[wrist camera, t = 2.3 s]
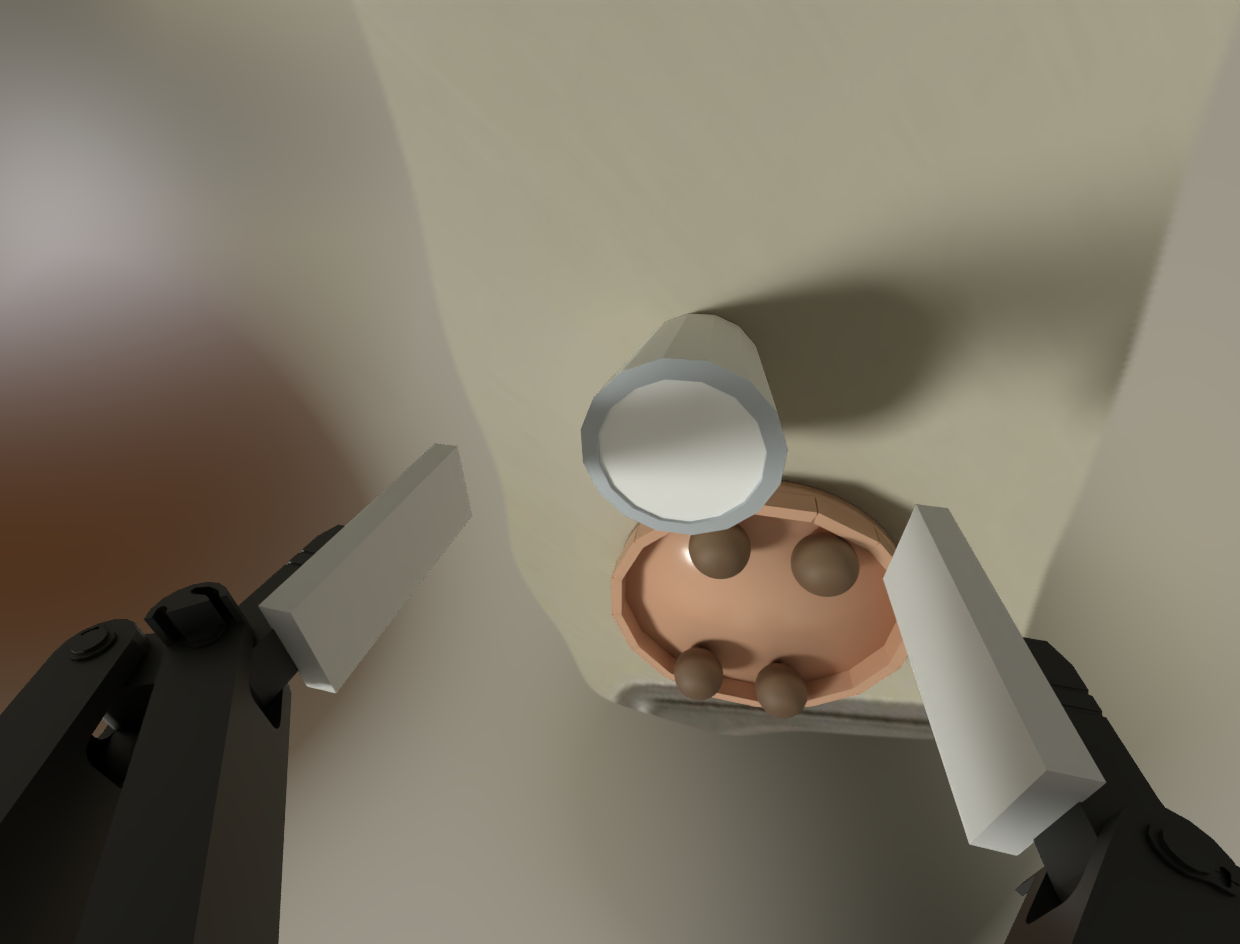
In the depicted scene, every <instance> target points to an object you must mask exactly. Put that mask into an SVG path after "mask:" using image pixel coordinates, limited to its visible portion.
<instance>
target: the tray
mask: <svg viewBox="0 0 1240 944" xmlns="http://www.w3.org/2000/svg"><path fill="white" fill-rule="evenodd" d="M738 524H739V525H740V526H741V527H742V528H743V529H744V530H745V532H746V534H747V535H748V538H749V540H750V545H751V553H750V558H749V561H748V563H747V565H746V566H745V568H744V569H743V570H742V571H741V572H740V573H738V574H737V575H735V576H734V577H731V578H728V579H714V578H710V577H708V576H706V575H704V574H702V573H701V572H700V571H699V570H698V569H697V568H696V567H695V566H694V564H693V563H692V561H691V558H690V555H689V549H688V547H689V540H690V536H691V535H688V534H680V533H673V532H665V531H658V530H655V529H652V528H650V527H648V526H646V525H644V524H641V523H639V522H638V524H637V525H636V526H635V528H634V529H633V530H632V532H631V533H630V535H629V537H628V539H627V541H626V543H625V545H624V548H623V551H622V553H621V555H620V557H619V558H618V560H617V561H616V565H615V568H614V571H613V574H612V577H611V591H612V616H613V617H614V619H615V621H616V623H617V625H618V626H619V628H620V630H621V632H622V633H623V635H624V637H625V639H626V641H627V642H628V644H629V646H630V648H631V649H632V650H633V651H635V652H636V653H637V654H638V655H639V656H641V657H642V658H643V659H644V660H645V661H647V662H648V663H649V664H650V665H651V666H652V667H654V668H655V669H656V670H657V671H658V672H660V673H661V674H662V675H663V676H665V677H667V678H669V679H671V680H673V681H675V678H674V667H675V663H676V661H677V659H678V657H679V656H680V655H681V654H682V653H683V652H684V651H686V650H688V649H690V648H695V647H700V648H704V649H707V650H709V651H710V652H712V653H713V654H714V655H715V656H716V657H717V658H718V660H719V661H720V663H721V666H722V669H723V682H722V685H721V687H720V689H719V691H718V692H717V693H716V694H715V695H714V696H712V697H713V698H718V699H722V700H727V701H732V702H737V703H741V704H746V705H751V706H756V707H758V706H759V707H762V706H761V705H760V703H759V702H758V700H757V697H756V694H755V680H756V677H757V675H758V673H759V672H760V671H761V670H762V669H763V668H764V667H765V666H767V665H769V664H772V663H783V664H786V665H789V666H791V667H793V668H794V669H795V670H797V671H798V672H799V673H800V675H801V676H802V677H803V679H804V681H805V683H806V686H807V692H808V697H807V702H806V705H805V707H810V706H815V705H819V704H823V703H827V702H831V701H834V700H838V699H842V698H846V697H850V696H854V695H858V694H860V693H862V692H864V691H866V690H867V689H869V688H870V687H872V686H873V685H875V684H876V683H878V682H879V681H881V680H883V679H884V678H886V677H887V676H889V675H890V674H892V673H893V672H895V671H896V670H898V669H900V667H901V666H902V664H903V663H904V661H905V659H906V657H907V656H908V654H907V651H906V648H905V645H904V642H903V639H902V636H901V633H900V630H899V626H898V623H897V620H896V617H895V614H894V611H893V608H892V605H891V602H890V599H889V596H888V593H887V590H886V587H885V583H884V580H883V578H884V575H885V573H886V571H887V568H888V566H889V564H890V562H891V559H892V557H893V555H894V553H895V550H896V548H897V546H896V545H895V544H894V542H893V541H892V539H891V538H890V536H889V535H888V534H887V533H886V532H885V531H884V530H883V529H882V527H881V526H880V525H879V524H878V523H877V522H876V521H875V520H873V519H872V518H871V517H869V516H868V515H867V514H865V513H864V512H863V511H861V510H860V509H859V508H857V507H855V506H853V505H852V504H850V503H848V502H846V501H845V500H843V499H841V498H839V497H836V496H834V495H831V494H829V493H827V492H824V491H822V490H818V489H815V488H812V487H808V486H805V485H801V484H796V483H791V482H785V481H781V484H780V486H779V487H778V488H777V489H776V491H775V492H774V493H773V494H772V496H771V497H770V498H769V499H768V501H767V502H766V503H765V505H764V506H763V507H762V508H761V510H760V511H759V512H757V513H756V514H754V515H752V516H750V517H748V518H747V519H745V520H743V521H741V522H739V523H738ZM819 532H826V533H832V534H835V535H837V536H840V537H842V538H843V539H845V540H846V541H847V542H848V543H849V544H850V545H851V546H852V547H853V548H854V550H855V552H856V554H857V556H858V559H859V565H860V569H859V575H858V578H857V580H856V582H855V584H854V585H853V586H852V587H851V588H850V589H849V590H848V591H846V592H845V593H843V594H841V595H838V596H833V597H822V596H817V595H814V594H812V593H810V592H808V591H807V590H805V589H804V588H803V587H801V586H800V584H799V583H798V582H797V581H796V579H795V577H794V575H793V573H792V570H791V555H792V552H793V549H794V547H795V546H796V545H797V543H798V542H799V541H800V540H801V539H803V538H804V537H806V536H808V535H810V534H813V533H819ZM675 682H676V681H675Z"/></svg>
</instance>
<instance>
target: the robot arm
mask: <svg viewBox="0 0 1240 944" xmlns="http://www.w3.org/2000/svg"><path fill="white" fill-rule="evenodd" d="M471 516H472V512H471V508H470V503H469V498H468V494H467V489H466V484H465V479H464V475H463V470H462V465H461V461H460V456H459V452H458V446H452V445H444V444H436V443H435V444H434V445H433V446H432V447H431V448H430V449H428V450H427V451H426V452H425V453H424V454H423V455H422V456H421V457H420V458H419V459H418V460H417V461H416V462H415V463H413V464H412V465H411V466H410V467H409V468H408V469H407V470H406V471H405V472H404V473H402V474H401V475H400V476H399V477H398V478H397V479H396V480H395V481H394V482H393V483H391V484H390V485H389V486H388V487H387V488H386V489H385V490H384V491H383V492H382V493H381V494H379V495H378V496H377V497H376V498H375V499H374V500H373V501H372V502H371V503H370V504H369V505H367V506H366V507H365V508H364V509H363V510H362V511H361V512H360V513H359V514H358V515H357V516H356V517H354V518H353V519H352V520H351V521H350V522H349V523H348V524H347V525H346V526H342V525H337V526H335V527H333V528H331V529H330V530H328V531H326V532H324V533H322V534H321V535H318V536H317V537H316V538H315V539H314V540H312V541H311V542H310V543H309V544H308V545H307V546H306V547H305V548H303V549H302V551H301V553H298V554H297V555H295V556H294V557H293V558H292V559H291V560H290V561H289V562H288V565H284V566H283V567H282V568H281V569H280V570H278V571H277V572H276V573H275V574H274V575H273V576H272V577H270V578H269V579H268V580H267V581H266V582H265V583H264V584H263V585H261V586H260V587H259V588H258V589H257V590H256V591H255V592H254V593H252V594H251V595H250V596H249V597H248V598H247V599H246V600H244V601H243V602H242V603H241V604H240V605H239V606H238V605H237V604H236V602H235V601H234V599H233V598H232V596H231V595H230V593H229V592H228V590H227V588H226V587H224V586H223V585H221V584H220V583H213V582H205V583H199V584H193V585H191V586H188V587H185V588H183V589H180V590H177V591H176V592H174V593H172V594H170V595H169V596H167V597H165V598H164V599H162V600H161V601H160V602H159V603H157V604H156V605H155V606H154V607H153V608H151V610H150V611H149V612H148V614H147V616H146V617H145V618H144V620H145V621H146V623H147V624H148V625H149V626H150V627H151V629H152V630H153V631H154V632H155V633H153V634H144V633H143V632H142V630H141V629H140V628H139V627H138V626H137V625H136V623H135V622H132V621H130V620H128V619H114V620H110V621H107V622H103V623H99V624H97V625H94V626H92V627H90V628H87V629H85V630H83V631H81V632H79V633H78V634H76V635H75V636H73V637H72V638H70V639H68V640H67V641H66V642H64V643H63V644H62V645H61V646H60V647H59V648H58V649H57V650H56V651H55V652H54V653H53V654H52V655H51V656H50V657H49V659H48V660H47V661H46V662H45V663H44V664H43V666H42V667H41V668H40V669H39V670H38V672H37V673H36V674H35V675H34V676H33V677H32V678H31V680H30V681H29V682H28V683H27V684H26V686H25V687H24V688H23V689H22V690H21V691H20V693H19V694H18V695H17V696H16V697H15V698H14V700H13V701H12V702H11V703H10V704H9V705H8V707H7V708H6V709H5V710H4V711H3V712H2V714H1V715H0V944H278V939H279V920H280V900H281V881H282V862H283V844H284V843H283V842H284V823H285V805H286V785H287V767H288V747H289V729H290V709H291V690H290V686H289V684H288V682H289V680H290V679H291V678H292V677H293V676H294V675H295V674H296V673H297V671H298V672H299V674H300V675H301V677H302V678H303V680H304V682H305V683H306V685H307V686H309V687H312V688H317V689H321V690H325V691H329V692H334V693H337V691H338V690H339V689H340V687H341V686H342V685H343V683H344V682H345V681H346V679H347V678H348V677H349V676H350V674H351V673H352V671H353V670H354V669H355V668H356V666H357V665H358V664H359V663H360V661H361V660H362V659H363V657H364V656H365V655H366V653H367V652H368V651H369V650H370V648H371V647H372V646H373V644H374V643H375V642H376V640H377V639H378V638H379V636H380V635H381V634H382V632H383V631H384V630H385V629H386V627H387V626H388V625H389V623H390V622H391V621H392V619H393V618H394V617H395V615H396V614H397V613H398V612H399V610H400V609H401V608H402V606H403V605H404V604H405V602H406V601H407V600H408V599H409V597H410V596H411V595H412V593H413V592H414V591H415V589H416V588H417V587H418V586H419V584H420V583H421V582H422V580H423V579H424V578H425V576H426V575H427V573H428V572H429V571H430V570H431V568H432V567H433V566H434V565H435V563H436V562H437V561H438V559H439V558H440V557H441V556H442V554H443V553H444V552H445V550H446V549H447V548H448V546H449V545H450V544H451V542H452V541H453V540H454V539H455V537H456V536H457V535H458V533H459V532H460V531H461V529H462V528H463V527H464V526H465V524H466V523H467V522H468V520H469V519H470V518H471ZM883 580H884V583H885V587H886V590H887V593H888V596H889V599H890V602H891V605H892V608H893V611H894V614H895V617H896V620H897V623H898V626H899V630H900V633H901V636H902V639H903V642H904V645H905V648H906V651H907V654H908V657H909V660H910V663H911V666H912V669H913V673H914V676H915V679H916V682H917V685H918V688H919V691H920V694H921V697H922V700H923V703H924V706H925V709H926V712H927V715H928V719H929V722H930V725H931V728H932V731H933V734H934V737H935V740H936V743H937V746H938V749H939V752H940V755H941V758H942V762H943V765H944V768H945V771H946V774H947V777H948V780H949V783H950V786H951V789H952V792H953V795H954V798H955V801H956V804H957V808H958V811H959V813H960V817H961V820H962V823H963V826H964V829H965V832H966V835H967V838H968V841H969V844H970V845H975V846H979V847H983V848H987V849H991V850H995V851H1000V852H1004V853H1008V854H1013V855H1019V854H1020V853H1021V852H1022V851H1024V850H1025V849H1026V848H1027V847H1028V846H1030V845H1031V844H1032V843H1033V842H1035V845H1036V847H1037V850H1038V852H1039V854H1040V857H1041V859H1042V861H1043V864H1044V867H1043V868H1042V869H1040V870H1039V871H1038V872H1036V873H1035V874H1034V875H1032V876H1031V877H1030V878H1028V879H1027V880H1026V881H1024V882H1023V883H1022V884H1021V885H1020V886H1019V887H1018V888H1017V889H1016V891H1017V892H1018V893H1019V894H1021V895H1022V896H1024V895H1025V894H1026V893H1027V895H1026V898H1025V900H1024V902H1023V904H1022V906H1021V908H1020V910H1019V913H1018V915H1017V917H1016V919H1015V922H1014V923H1013V926H1012V928H1011V930H1010V932H1009V934H1008V936H1007V939H1006V941H1005V943H1004V944H1240V867H1238V866H1236V865H1235V863H1234V862H1233V860H1232V859H1231V858H1229V856H1228V855H1227V854H1226V853H1225V852H1224V851H1223V850H1222V848H1221V847H1220V846H1219V845H1218V844H1217V843H1216V842H1215V841H1214V840H1213V839H1212V838H1211V837H1209V836H1208V835H1207V834H1206V833H1204V832H1203V831H1202V830H1201V829H1199V828H1198V827H1197V826H1195V825H1194V824H1193V823H1192V822H1190V821H1189V820H1187V819H1185V818H1183V817H1182V816H1179V815H1178V814H1176V813H1174V812H1172V811H1171V810H1169V809H1167V808H1165V807H1164V805H1163V804H1162V803H1161V802H1160V800H1159V799H1158V797H1157V796H1156V794H1155V793H1154V791H1153V790H1152V788H1151V786H1150V785H1149V783H1148V782H1147V780H1146V779H1145V777H1144V776H1143V774H1142V773H1141V771H1140V770H1139V768H1138V766H1137V765H1136V763H1135V762H1134V760H1133V758H1132V757H1131V755H1130V754H1129V752H1128V751H1127V749H1126V748H1125V746H1124V744H1123V743H1122V741H1121V740H1120V738H1119V737H1118V735H1117V734H1116V732H1115V731H1114V729H1113V727H1112V726H1111V724H1110V723H1109V721H1108V720H1107V718H1106V717H1103V716H1102V710H1101V709H1100V708H1099V706H1098V704H1097V703H1096V701H1095V700H1094V698H1093V696H1091V695H1089V694H1088V689H1087V687H1086V685H1085V684H1084V682H1083V681H1082V679H1081V678H1080V676H1079V675H1078V673H1077V672H1076V670H1075V668H1074V667H1073V666H1072V664H1070V662H1068V661H1067V660H1066V659H1065V658H1064V657H1063V656H1062V655H1061V654H1060V653H1059V652H1058V651H1057V650H1055V648H1054V647H1052V646H1051V645H1050V644H1049V643H1048V642H1047V641H1041V640H1036V639H1030V638H1024V637H1022V636H1021V634H1020V632H1019V630H1018V629H1017V627H1016V625H1015V623H1014V622H1013V620H1012V618H1011V617H1010V615H1009V613H1008V611H1007V610H1006V608H1005V606H1004V604H1003V603H1002V601H1001V599H1000V597H999V596H998V594H997V592H996V591H995V589H994V587H993V585H992V584H991V582H990V580H989V578H988V577H987V575H986V573H985V571H984V570H983V568H982V566H981V565H980V563H979V561H978V559H977V558H976V556H975V554H974V552H973V551H972V549H971V547H970V545H969V544H968V542H967V540H966V539H965V537H964V535H963V533H962V532H961V530H960V528H959V526H958V525H957V523H956V521H955V520H954V518H953V516H952V514H951V513H950V511H949V509H948V508H942V507H934V506H926V505H918V504H916V505H915V508H914V510H913V512H912V514H911V517H910V519H909V521H908V523H907V526H906V528H905V530H904V532H903V535H902V537H901V539H900V541H899V544H898V546H897V548H896V550H895V553H894V555H893V557H892V559H891V562H890V564H889V566H888V568H887V571H886V573H885V575H884V578H883ZM102 719H103V720H104V721H105V722H106V723H107V724H108V726H107V727H106V729H105V730H104V732H103V733H102V734H101V735H100V736H99V737H98V738H95V737H94V736H93V735H92V733H93V732H94V730H95V729H96V727H97V726H98V724H99V723H100V721H101V720H102Z"/></svg>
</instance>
